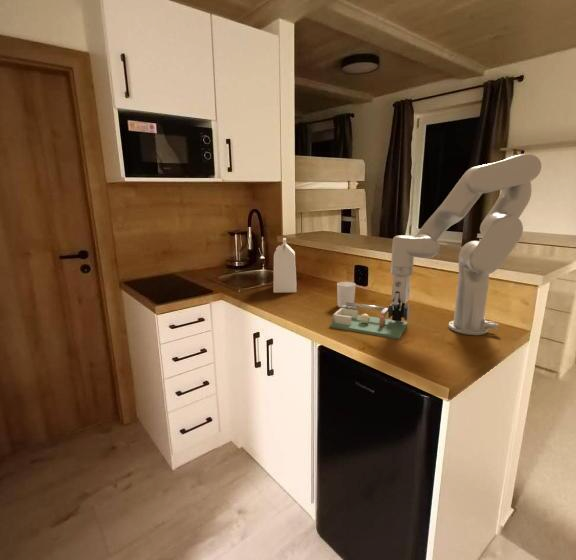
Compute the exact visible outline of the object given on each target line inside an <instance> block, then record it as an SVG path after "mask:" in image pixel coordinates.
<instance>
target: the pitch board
mask: <svg viewBox="0 0 576 560" xmlns="http://www.w3.org/2000/svg"><path fill="white" fill-rule="evenodd" d="M341 308H345V309H352V310H358V309H357V308H358V307H353V306H351V307H350V308H348V306H346V305H342V306H341ZM361 315H362V314H358V318H357V319H356V318H352V321H351V325H346V324H340V323H334V322H333V321H331V323H330V324H329V328H333V329H339V330H345V331H351V332H356V333H363V334H367V335H374V336H380V337H386V338H390V339H391V338H392V339H396V340H400V339H401V337H402V335H403V333H404V331H405V330H406V328H407V326H408V322H409V321H405V320H401V321H394V320H392V319H391V318H385V325H384V326H383V327H381V326H379V322H380V317H376V316H371V315H369V317H370V320H369V322H368V323H362V322H361V321H360V316H361Z"/></svg>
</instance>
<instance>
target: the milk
mask: <svg viewBox="0 0 576 560" xmlns="http://www.w3.org/2000/svg"><path fill="white" fill-rule="evenodd" d="M296 268H297V266H296V251H295V250H294V249H292V247H291V246H290V245H289V244H288V243H287V237H283V238H282V244H281V245H278V246H277V247H276V248H275V250H274V253H273V284H272V285H273V287H272V289H273V291H272V292H273V293H280V294H281V293H297V292H298V291H297V269H296Z"/></svg>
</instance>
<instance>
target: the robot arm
mask: <svg viewBox="0 0 576 560" xmlns="http://www.w3.org/2000/svg"><path fill="white" fill-rule="evenodd" d="M541 171H542V162H541V159H540V158H539V157H538V156H536V155H535V154H532V153H521V154H517V155H514V156H513V155H512V156H510V157H507V158H505V159H503V160H499V161H496V162H491V163H487V164H486V163H485V164H482V165H477V166H473V167H470V168H468V169H467V170H466V171H465V172H464V174H462V176H461V178H459V179H458V182H456V184H455V185H454V187H453V188H452V190H451V191H450V192H449V193H448V195H447V196H446V198H445V199H444V200H443V202H442V203H441V204H440V205H439V206H438V207H437V209H436V210H435V211H434V212H433V213H432V214H431V215H430V217H429V218H428V219H427V220H426V221H425V222H424V224H423V225H422V226H421V228H420V229H419V231H418V232H417V234H416V235H415V237H414V236H412V235H404V234H401V235H395V236H394V237H393V238H392V242H391V243H392V245H391V259H390V260H391V261H390V262H391V263H390V275H392V276H393V277H392V286H391V288H392V289H391V301H392V302H394V304H393V313H392V316H391V320H394V321H402V320H403V319H402V311H401V308H402V306H407V304H406V303H407V302H408V300H409V299H410V297H411V296H410V295H411V276H413V274H414V273H413V271H414V260H415V259H414V258H420V259H432V258H434V257H435V256H437V255H438V254H439V252H440V243H439V239H440V238H441V237H442V236H443V234H444V233H445V232H446V231H447V230H448V229H449V228H451V226H453V225H455V224H457V223H459V222H461V221H462V220H463V219H464V218H465V217H466V215H467V214H468V213H469V211H471V209H472V208H473V206H474V205H475V204H476V203H477V201H478V200H479V199H480V198H481V196H482V195H483V194H488V193H493V192H497V191H500V194H499V195H498V198H497V200H496V201H495V203H494V205H493V206H492V207H491V209H490V210H489V212H488V213H487V214H486V215H485V217H484V219H483V220H482V222H481V223H480V226H479V232H480V235H481V239H480V240H471V241H468V242H466V243H465V244H464V245H462V247H461V249H460V251H459V254H458V276H457V285H456V286H457V287H456V296H455V307H454V317H453V320H451V321H449V322H448V328H449V329H450V330H452V331H453V332H456V333H458V334H463V335H467V336H468V335H469V336H482V335H486V334H487V333H488V329H493V330H499V325H500V324H499V323H495V321H491V320H490V321H488V320H487V319H486V316H485V315H486V305H487V299H488V292H489V291H488V289H489V283H490V274H493V273H494V272H495V271H497V270H498V269H499V268H500V267H501V266H502V265H503V263H504V262H506V259H507V258H508V257H509V255H510V254H511V253H512V251H513V250H514V249H515V247H516V245H518V243H519V242H520V239H521V237H522V235H523V231H524V225H523V223H522V221H521V219H520V217H521V216H522V214H523V213H524V211H525V209H526V207H527V206H528V205H529V203H530V199H531V198H532V197H531V196H532V181H533V180H535V179H536V178H537V177H538V176H539V175H540V173H541ZM392 302H391V303H392ZM399 305H400V306H399Z"/></svg>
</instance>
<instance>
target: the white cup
mask: <svg viewBox="0 0 576 560" xmlns="http://www.w3.org/2000/svg"><path fill="white" fill-rule="evenodd" d="M356 286H357V285H356V283H355V282H351V281H340V282H337V283H336V295H337V297H336V299H337V307H338V308H339V309H340V308H341V306H342V305H346V302H350V303H355V295H356ZM350 307H351V306H348V309H350Z"/></svg>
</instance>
